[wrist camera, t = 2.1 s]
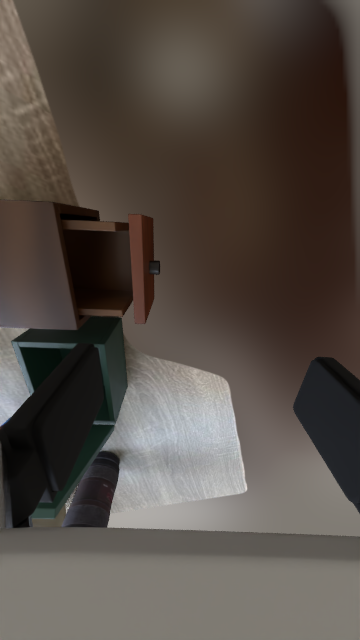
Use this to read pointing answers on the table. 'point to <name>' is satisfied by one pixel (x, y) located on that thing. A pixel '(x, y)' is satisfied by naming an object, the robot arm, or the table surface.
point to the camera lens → (94, 494)
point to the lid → (76, 471)
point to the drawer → (112, 265)
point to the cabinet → (37, 265)
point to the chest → (55, 344)
